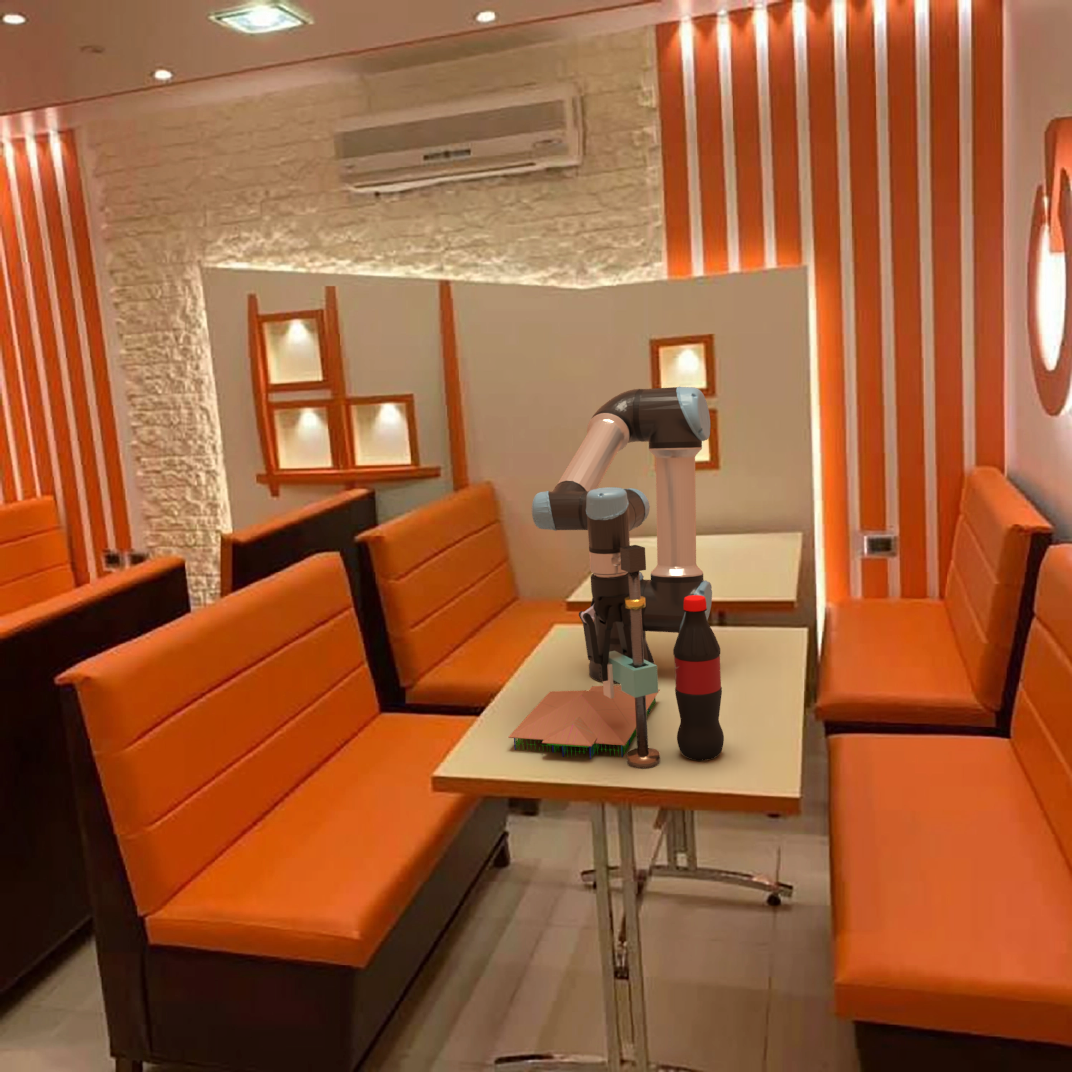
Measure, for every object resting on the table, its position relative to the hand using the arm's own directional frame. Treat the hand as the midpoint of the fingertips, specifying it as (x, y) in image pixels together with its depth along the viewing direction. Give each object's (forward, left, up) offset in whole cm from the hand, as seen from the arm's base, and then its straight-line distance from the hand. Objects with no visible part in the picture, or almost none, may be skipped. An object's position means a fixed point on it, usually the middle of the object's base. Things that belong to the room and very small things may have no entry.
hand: (617, 693), depth 196 cm
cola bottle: (+12, +10, -11) cm, 19 cm away
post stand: (+8, 0, -11) cm, 13 cm away
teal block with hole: (+4, 0, +3) cm, 5 cm away
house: (-12, -1, -11) cm, 17 cm away
